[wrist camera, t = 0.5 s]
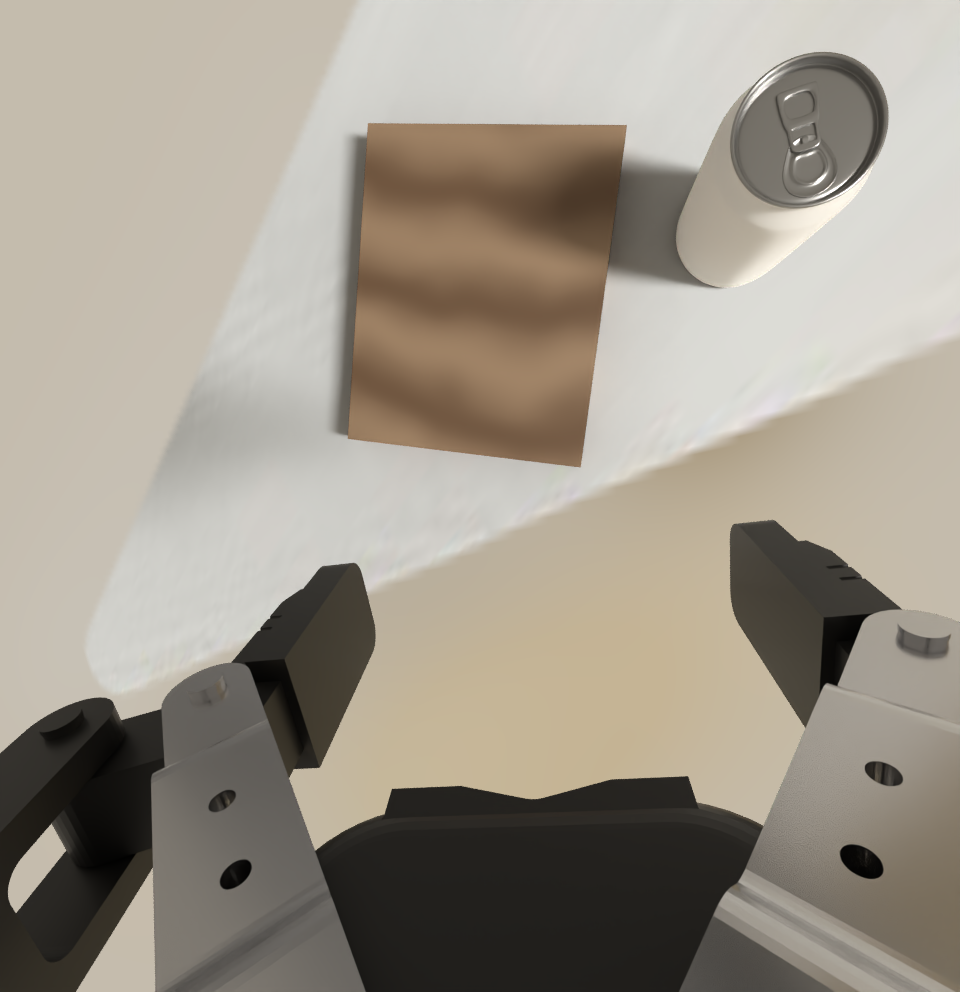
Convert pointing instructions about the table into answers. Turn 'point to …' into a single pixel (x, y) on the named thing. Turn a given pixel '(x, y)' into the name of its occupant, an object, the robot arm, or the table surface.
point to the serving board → (482, 286)
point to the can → (781, 166)
